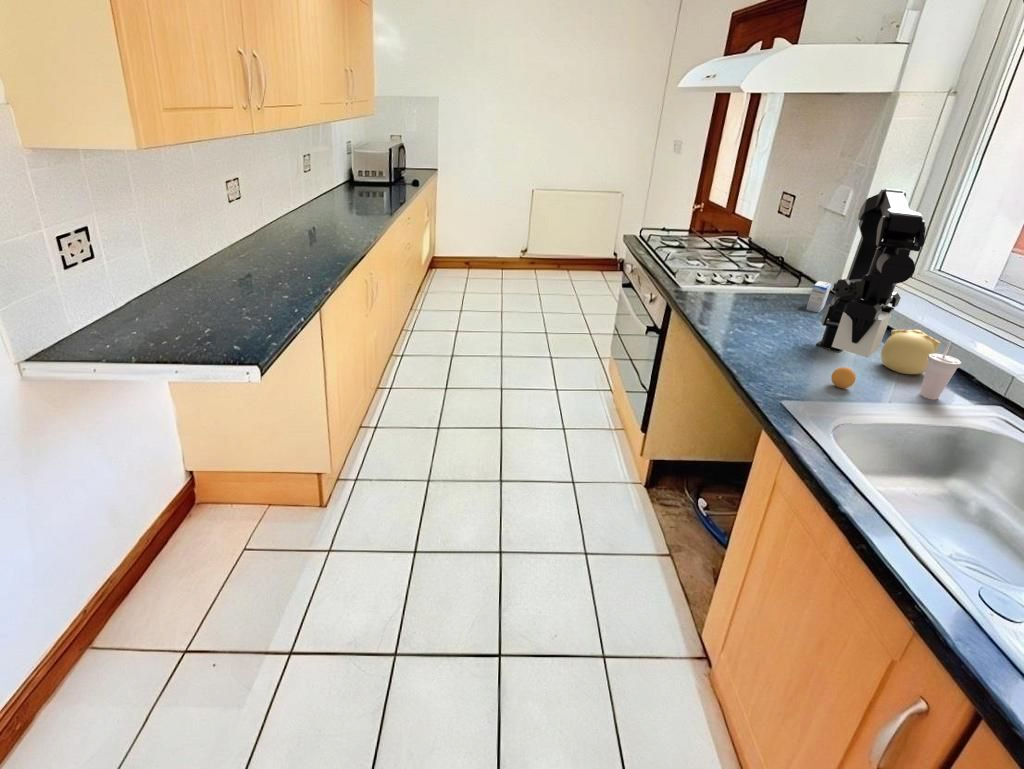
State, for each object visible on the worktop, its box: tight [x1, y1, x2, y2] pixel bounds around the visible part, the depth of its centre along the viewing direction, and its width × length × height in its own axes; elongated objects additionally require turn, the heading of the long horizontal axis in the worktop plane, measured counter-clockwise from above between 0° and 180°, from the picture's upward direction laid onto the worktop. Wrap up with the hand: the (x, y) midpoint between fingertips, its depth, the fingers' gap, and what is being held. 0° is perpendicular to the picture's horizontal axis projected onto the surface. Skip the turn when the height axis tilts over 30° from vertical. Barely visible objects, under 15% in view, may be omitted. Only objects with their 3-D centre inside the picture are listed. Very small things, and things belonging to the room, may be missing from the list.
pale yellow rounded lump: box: [880, 329, 942, 375], centre depth 147 cm, size 12×12×11 cm
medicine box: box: [806, 280, 832, 313], centre depth 192 cm, size 8×4×9 cm, turn 144°
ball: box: [830, 366, 857, 389], centre depth 135 cm, size 5×5×5 cm
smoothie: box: [919, 339, 962, 400], centre depth 132 cm, size 6×6×14 cm
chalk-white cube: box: [832, 311, 892, 358], centre depth 130 cm, size 8×8×9 cm
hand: (860, 339), depth 131 cm, fingers closed on chalk-white cube, 8 cm apart
